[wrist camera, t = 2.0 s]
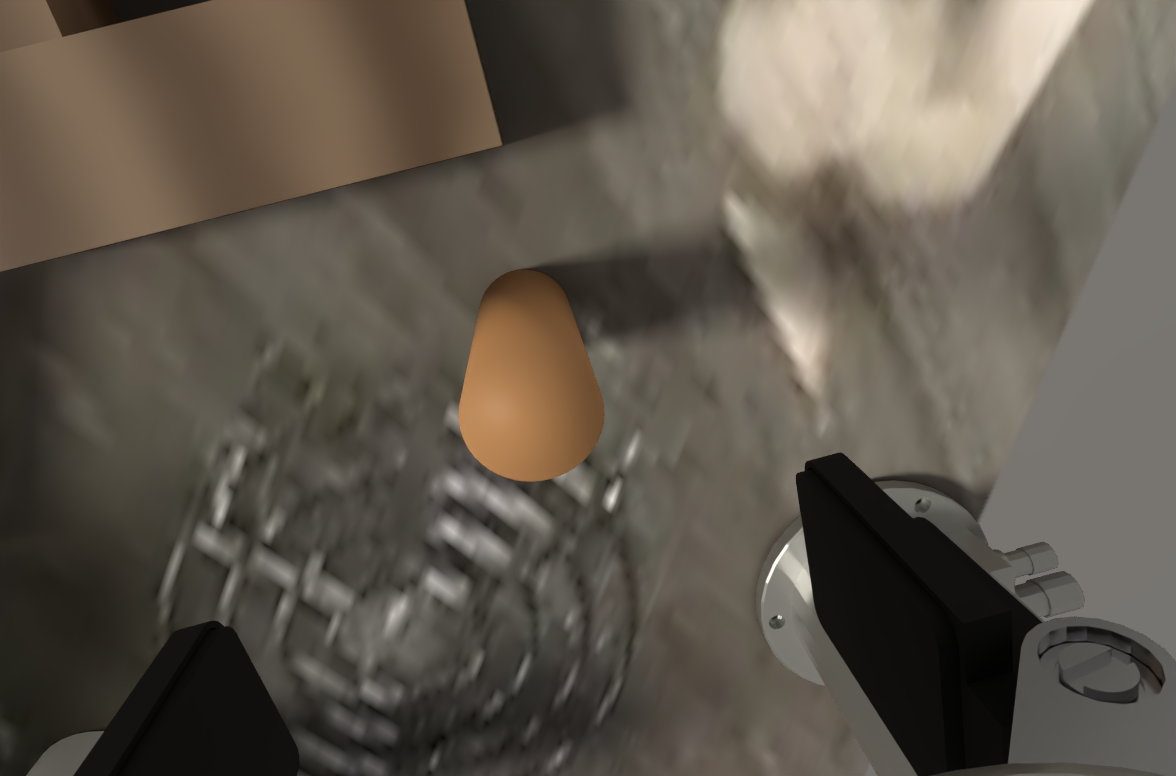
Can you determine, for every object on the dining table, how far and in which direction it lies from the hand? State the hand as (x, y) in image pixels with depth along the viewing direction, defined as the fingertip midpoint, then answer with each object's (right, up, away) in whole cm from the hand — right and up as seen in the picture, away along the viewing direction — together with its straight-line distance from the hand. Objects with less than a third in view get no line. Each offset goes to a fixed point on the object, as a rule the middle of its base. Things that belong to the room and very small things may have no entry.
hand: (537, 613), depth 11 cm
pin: (-2, +7, +19) cm, 20 cm away
